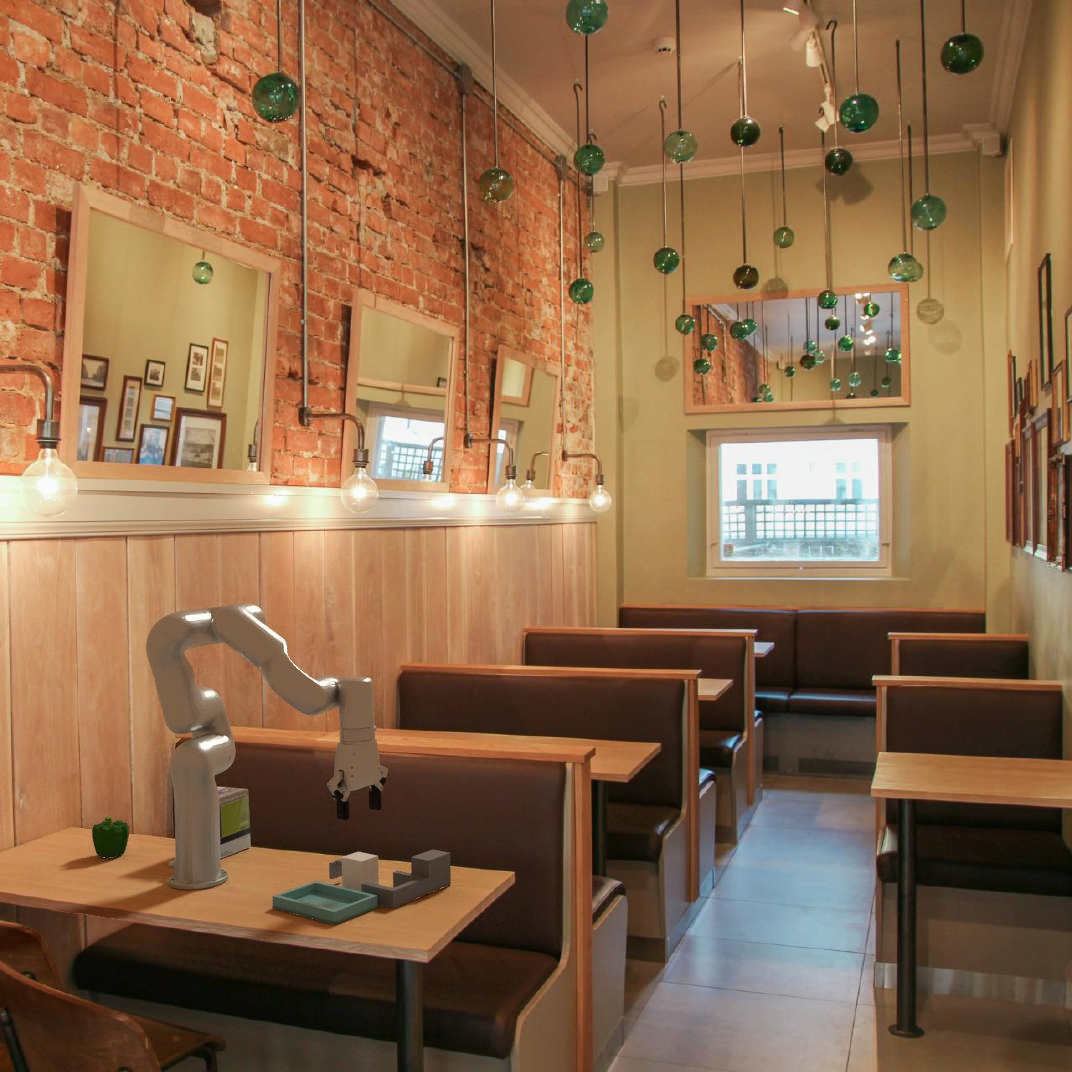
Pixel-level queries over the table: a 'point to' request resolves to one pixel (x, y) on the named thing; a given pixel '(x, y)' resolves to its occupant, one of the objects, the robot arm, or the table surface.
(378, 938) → the table surface
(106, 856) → the bell pepper
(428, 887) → the bay
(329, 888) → the tray
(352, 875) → the t-handle cube
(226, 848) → the tea box
